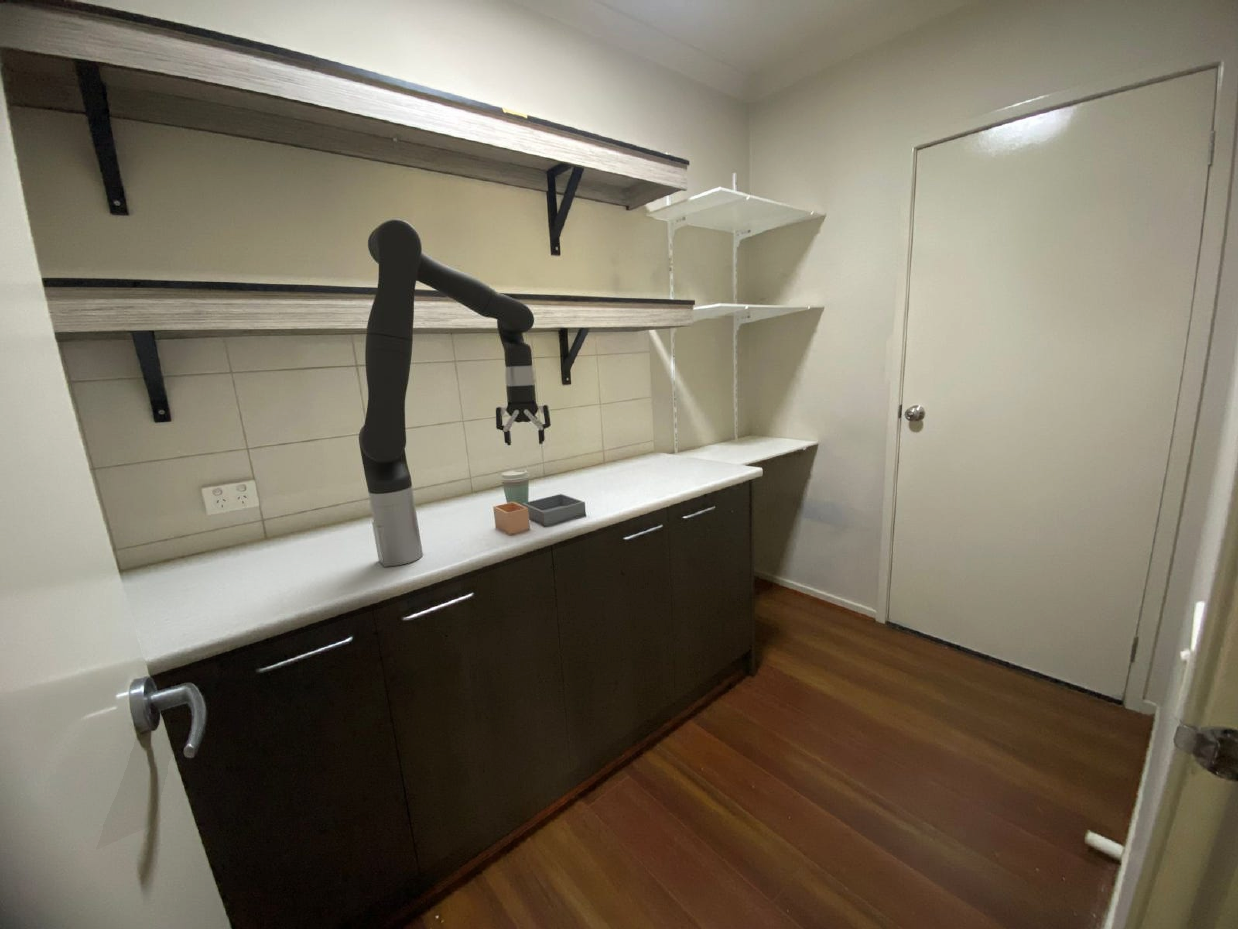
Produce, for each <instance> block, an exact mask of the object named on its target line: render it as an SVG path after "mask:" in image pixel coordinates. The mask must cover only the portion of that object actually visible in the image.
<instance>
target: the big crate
mask: <svg viewBox="0 0 1238 929" xmlns="http://www.w3.org/2000/svg"><path fill="white" fill-rule="evenodd" d="M522 506H524V507H526V508H528V513H529V521H532V522H534V523H536V524H539V525H540V526H542V527H545V528H546V527H549V526H553V525H554V526H555V525H557V524H560V523H564V522H568V521H571V520H575V519H578V518H582V517H585V516H586V515H587V514H586V513H587V512H586V502H585V501H583V500H581V499H577V498H574V497H572V496H569V495H566V494H563V493H559V494H554V495H551V496H547V497H542V498H538V499H535V500H530V501H529V500H528V502H525V503H522Z"/></svg>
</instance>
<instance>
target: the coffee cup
mask: <svg viewBox="0 0 1238 929" xmlns="http://www.w3.org/2000/svg"><path fill="white" fill-rule="evenodd" d="M529 479H530V474H529V472H528V471H527V470H526V469H512V470H507V471H504V472H502V473H501V475H500V482H501V484H502V488H503V492H504V496H505V501H506V503H510V502H515V503H517V504H520V505H522V503H525V502H529V492H530V490H529V489H530V488H529V487H530V486H529V485H530V484H529V482H530V481H529Z"/></svg>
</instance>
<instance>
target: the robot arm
mask: <svg viewBox="0 0 1238 929" xmlns="http://www.w3.org/2000/svg"><path fill="white" fill-rule="evenodd" d="M367 240H368V241H367V248H368V251H369V254H370V256H371V258H372V259H373V260H374V261H375V262H376V263H377V264H378V276H377V277H378V278H377V279H378V280H377V288H376V292H375V296H374V299H373V301H372V305H371V309H370V313H369V316H368V320H367V325H366V331H365V347H364V348H365V350H364V352H365V354H364V357H365V358H364V359H365V361H364V362H365V373H366V374H365V376H366V383H367V406H366V412H365V421H364V424H363V426H362V427H361V429H360V430H359V433H358V444H359V450H360V457H361V461H362V466H363V471H364V472H363V473H364V478H365V481H366V482H365V483H366V487H367V491H368V492H367V493H368V496H369V502H370V509H371V514H372V520H373V521H372V522H371V523H372V530H373V536H374V542H375V547H376V553H377V559H378V561H379V563H380V564H381V565H382V567H383V568H387V567H394V566H395V567H397V566H402V565H406V564H410V563H413V562H415V561H417V560H419V559H420V558H421V557H423V553H424V551H423V547H422V540H421V534H420V529H419V528H420V527H419V521H418V516H417V515H418V514H417V509H416V503H415V502H416V501H415V496H414V490H413V483H412V476H411V474H410V473H411V472H410V470H409V466H408V462H407V455H406V450H405V449H406V447H407V433H406V432H407V431H406V428H407V427H406V396H407V389H408V384H409V379H410V370H411V363H412V354H413V341H414V340H413V339H414V338H413V337H414V334H413V333H414V319H415V318H414V317H415V292H416V284H417V282H419V283H421V284H424V285H425V286H428V287H430V288H432V289H434V290H435V291H437V292H439V293H441V294H443V295H445V296H447V297H448V298H451V299H452V300H453V301H456V302H457V303H458V304H460V305H462V306H464V307H465V308H468V309H470V310H471V311H473V312H474V313H476V314H478V315H480V316H482V317H484V318H487V319H488V318H491V319H495V320H496V327H497V331H498V335H499V339H500V343H501V345H502V348H503V350H504V351H503V352H504V353H503V354H504V364H505V365H504V366H505V373H504V378H505V388H506V389H505V390H506V400H507V401H506V402H507V405H506V407H505V406H503V407H502V406H497V407H496V408H495V425H496V426H495V428H496V429H497V430H499V431H502V432H503V436H504V438H503V439H504V443H505V444H506V445H507V446H511V445H512V437H511V436H512V435H511V434H512V433H511V430H510V429H511V427H512V426H513V425H514V423H515V422H516V423H522V422H523V423H524V422H525V423H530V422H532V424H534V425H535V426H536V427H537V428H538V432H537V434H538V444H539V445H542V444H543V443H544V442H545V440H546V439H545V438H546V436H545V429H547V428H550V427H551V426H552V424H551V417H550V409H549V408H550V407H549V405H548V404H544V405H538V404H537V396H536V394H537V393H536V379H535V373H534V372H535V371H534V366H533V356H532V348H531V346H530V344H528V343H526V342H525V340H524V336H523V333H527V332H529V330H531V329H532V328H533V327H534V325H535V324H534V323H535V316H534V314H533V312H532V310H531V309H530V308H529V307H528V306H527V305H526V304H524V303H523V302H521V301H519V300H517V299H515V298H513V297H511V296H508V295H506V294H502V293H499V292H497V291H496V290H495V289H493V288H491V287H490V286H489V285H487V284H485V283H484V282H483V281H481V280H479V279H477V278H475V276H472V275H470V274H467V273H465V272H463V271H460V270H458V269H455V268H453V267H452V266H447V265H446V264H443V263H441V262H439V261H437V260H436V259H434V258H431V257H430V256H429V255H427V254H426V253H424V252H423V251H422V249H423V248H422V241H421V238H420V236H419V233H418V231H417V230H416V229H415V227H414V226H412V224H410V222H408V221H406V220H404V219H399V218H393V219H389V220H386V221H383V222H382V223H381V224H380V225H378V226H377V227H376V228H375V229H373V231H372V232H371V233H370V235H369V236H368V239H367ZM539 411H540V413H541V414H543V419H544V423H542V422H541V420H540V419H539V418H538V417H537V416H536V414H537V413H538V412H539ZM505 413H507V415H509V416H510V418H509V419H508V420H507V422H506V424H505V425H503V415H505Z"/></svg>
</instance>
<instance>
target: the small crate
mask: <svg viewBox="0 0 1238 929" xmlns="http://www.w3.org/2000/svg"><path fill="white" fill-rule="evenodd" d="M492 508H493V516H494V524H495V528H496V529H497V530H500V531H501V532H503V533H505V534H506V535H507V536H512V535H515V534H520V533H524V532H528V531H530V530H531V523H530V519H529V513H528V508H526V507H524V506H522V505H520V504H517V503H515V502H510V503H507V502H505V503H503V504H498V505H495V506H493V507H492Z"/></svg>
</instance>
